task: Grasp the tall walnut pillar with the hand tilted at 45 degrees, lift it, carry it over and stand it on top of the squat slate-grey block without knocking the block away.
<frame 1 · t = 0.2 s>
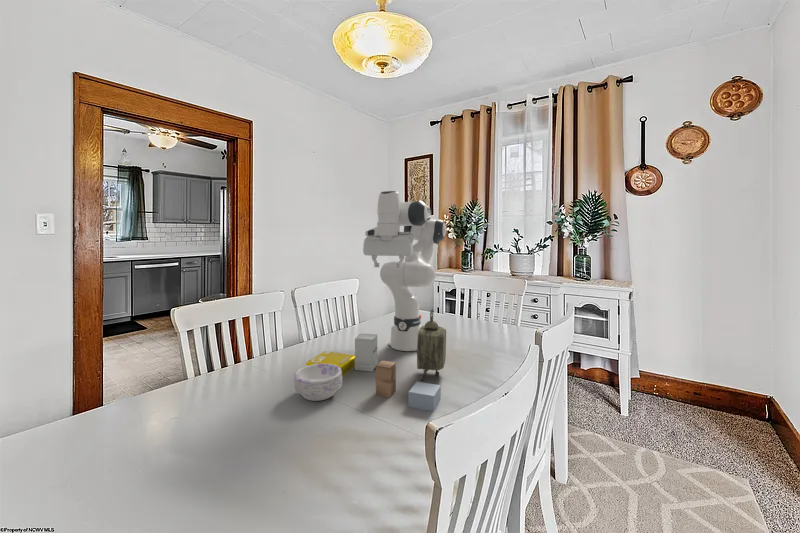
hand: (387, 267, 144), 39 cm above the table, tool pointing down, fingers open, 8 cm apart
element tile: (331, 370, 143), on the table
paper bowls: (318, 395, 121), on the table
slate block: (424, 403, 116), on the table
tabletop clock: (431, 375, 137), on the table
supplement box: (366, 368, 145), on the table
walnut pillar: (386, 393, 122), on the table
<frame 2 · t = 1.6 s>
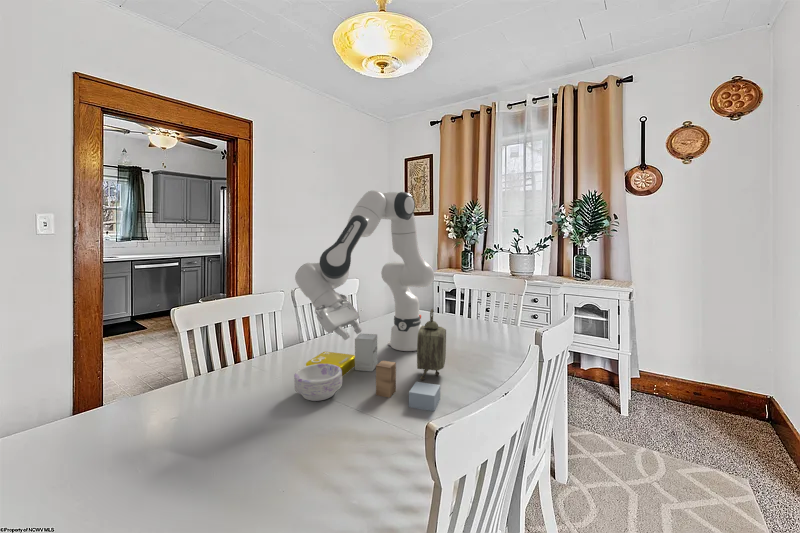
hand: (353, 335, 125), 18 cm above the table, tool tilted 45°, fingers open, 8 cm apart
nothing on the table moved.
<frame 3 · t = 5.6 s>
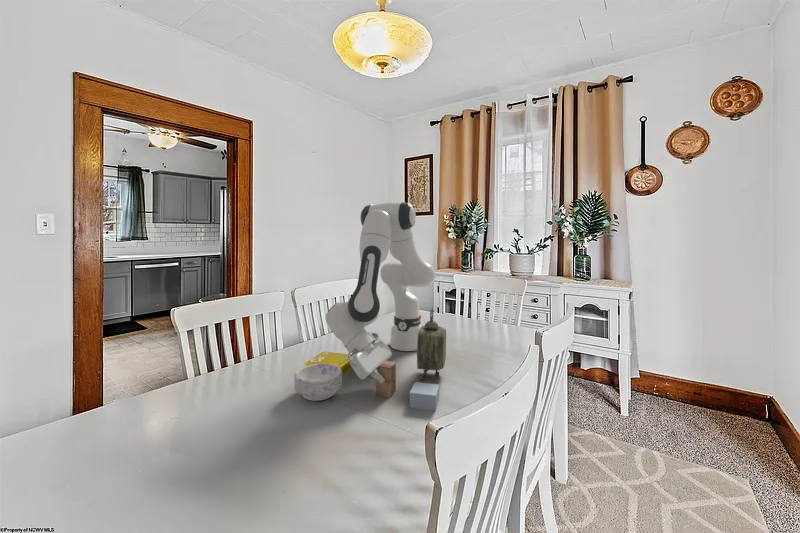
hand: (387, 377, 122), 5 cm above the table, tool tilted 45°, fingers closed on walnut pillar, 5 cm apart
walnut pillar: (386, 393, 122), on the table, touching gripper
everything else where it was.
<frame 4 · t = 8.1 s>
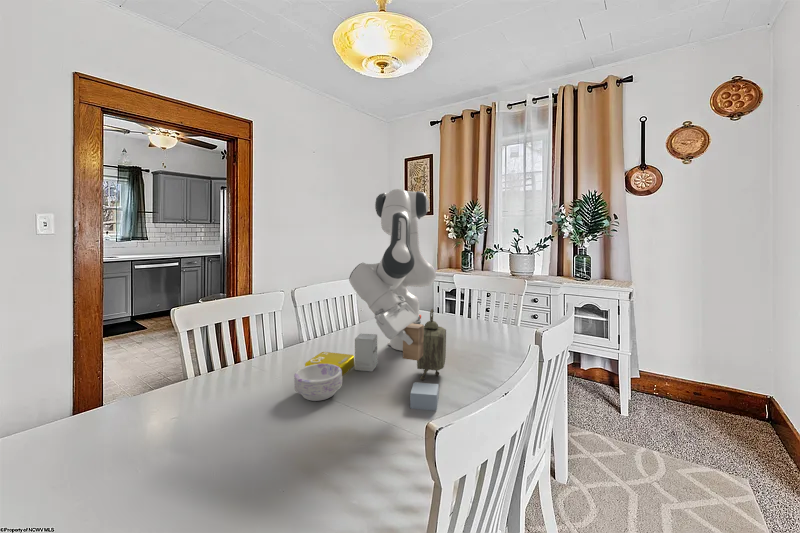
hand: (415, 340, 115), 20 cm above the table, tool tilted 45°, fingers closed on walnut pillar, 5 cm apart
walnut pillar: (413, 357, 115), point 14 cm above the table, touching gripper
everything else where it was.
when the fingers open (12 cm above the table, at t = 10.6 s): walnut pillar drops 2 cm, point 5 cm above the table.
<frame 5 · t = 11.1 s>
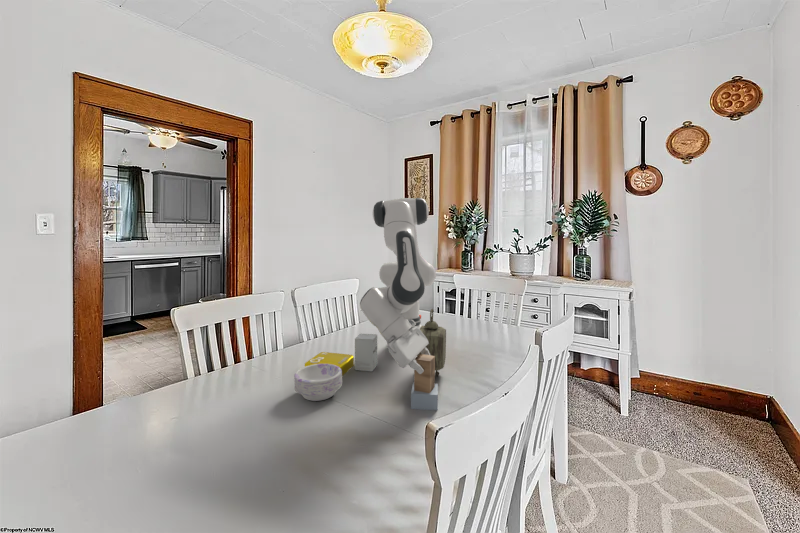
hand: (427, 366, 114), 12 cm above the table, tool tilted 45°, fingers open, 8 cm apart
walnut pillar: (424, 388, 115), point 5 cm above the table
everything else where it was.
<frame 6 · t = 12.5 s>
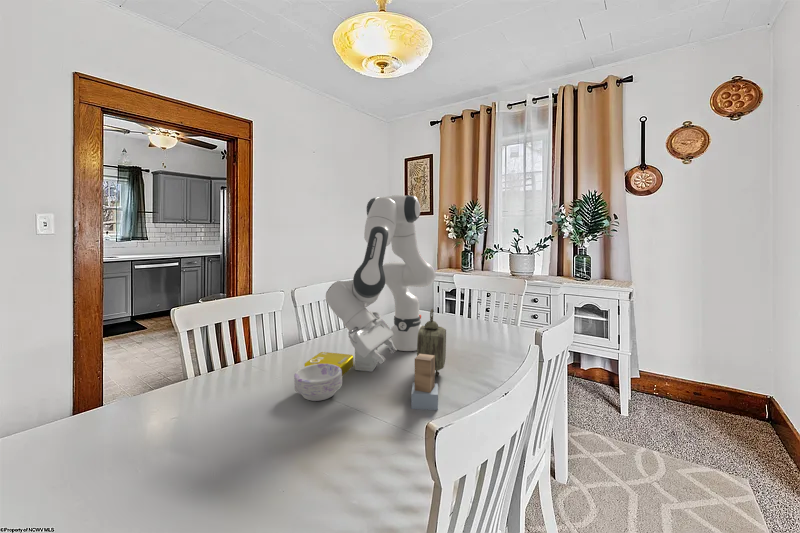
hand: (389, 356, 118), 13 cm above the table, tool tilted 45°, fingers open, 8 cm apart
nothing on the table moved.
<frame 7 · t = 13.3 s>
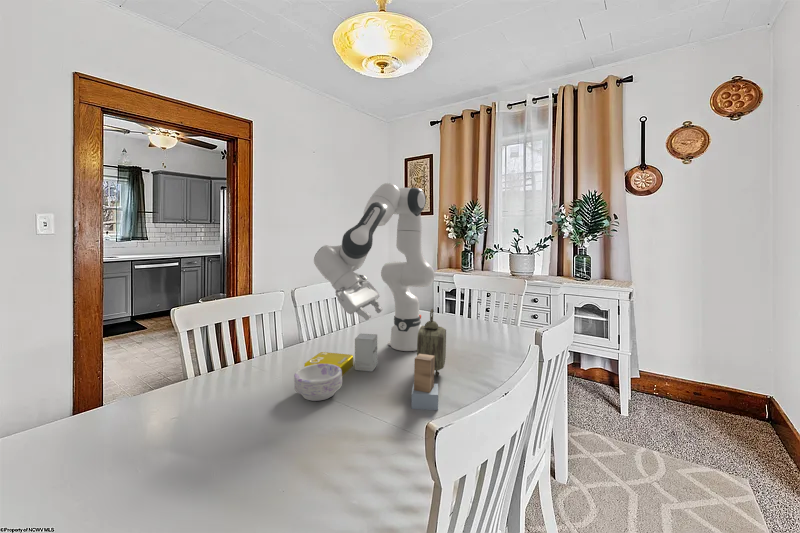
hand: (375, 315, 125), 25 cm above the table, tool tilted 45°, fingers open, 8 cm apart
slate block: (425, 403, 116), on the table, touching walnut pillar
walnut pillar: (424, 388, 115), point 5 cm above the table, touching slate block
everything else where it was.
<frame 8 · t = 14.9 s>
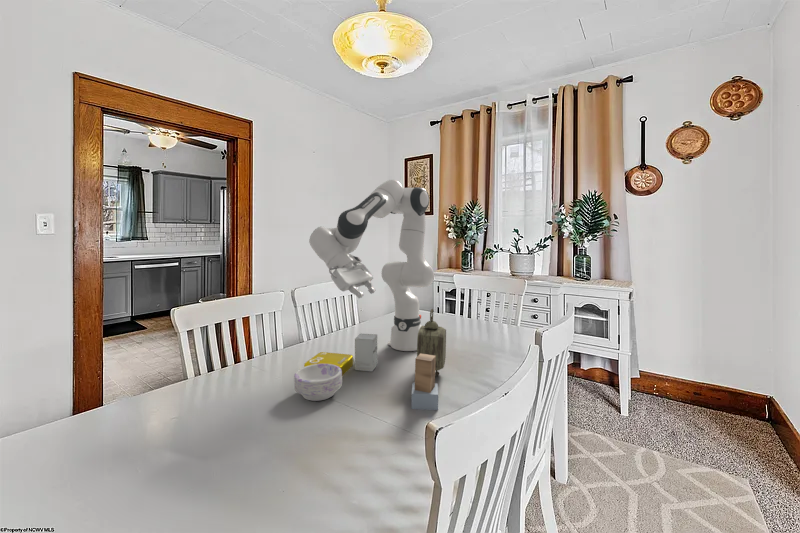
hand: (367, 294, 128), 31 cm above the table, tool tilted 45°, fingers open, 8 cm apart
slate block: (424, 403, 116), on the table
walnut pillar: (424, 388, 115), point 5 cm above the table
everything else where it was.
at the end: walnut pillar 0.1 cm off-centre on the slate block, point 5.1 cm above the slate block's base; walnut pillar tilted 2°; the gripper is holding nothing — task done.
